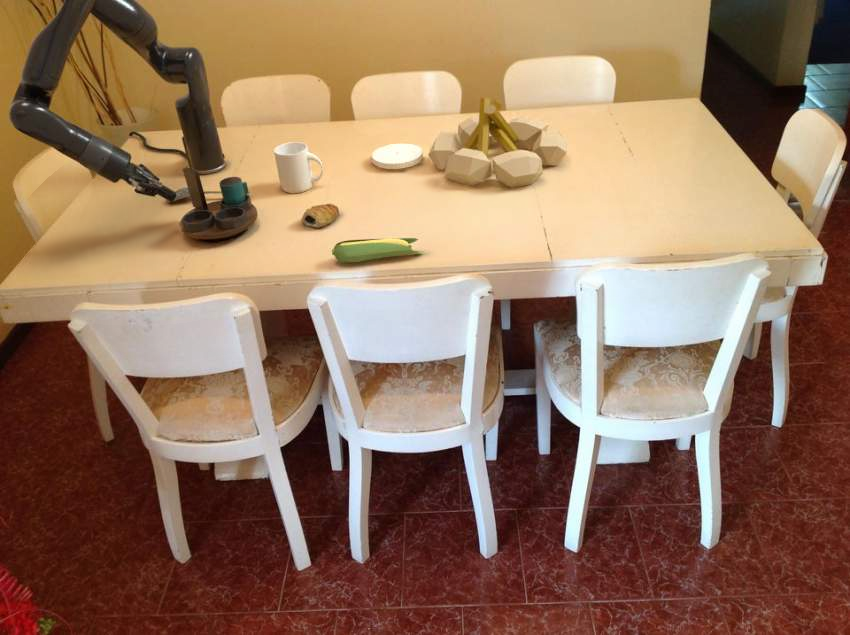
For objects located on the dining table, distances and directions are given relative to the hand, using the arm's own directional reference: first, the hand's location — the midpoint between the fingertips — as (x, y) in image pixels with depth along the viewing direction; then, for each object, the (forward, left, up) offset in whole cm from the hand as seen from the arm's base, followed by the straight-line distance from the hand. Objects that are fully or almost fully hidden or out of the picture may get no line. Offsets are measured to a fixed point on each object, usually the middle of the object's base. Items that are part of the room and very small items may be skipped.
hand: (174, 197), depth 172 cm
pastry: (+29, +17, -9) cm, 35 cm away
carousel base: (+9, +4, -9) cm, 13 cm away
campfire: (+54, +63, -9) cm, 83 cm away
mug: (+13, +31, -9) cm, 35 cm away
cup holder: (+8, +4, -6) cm, 11 cm away
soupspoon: (-4, +15, +31) cm, 35 cm away
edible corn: (+52, +8, -9) cm, 53 cm away
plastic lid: (+28, +54, -9) cm, 61 cm away
